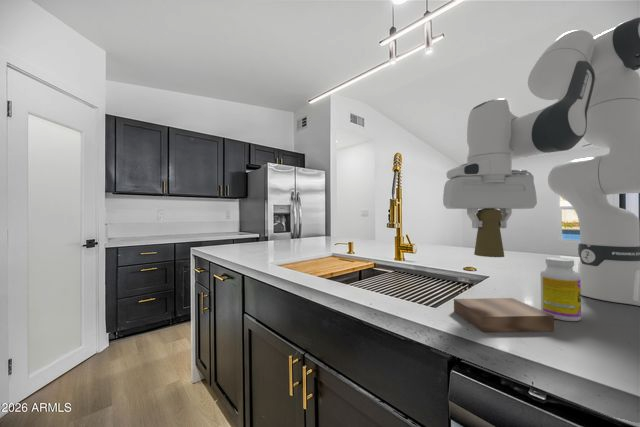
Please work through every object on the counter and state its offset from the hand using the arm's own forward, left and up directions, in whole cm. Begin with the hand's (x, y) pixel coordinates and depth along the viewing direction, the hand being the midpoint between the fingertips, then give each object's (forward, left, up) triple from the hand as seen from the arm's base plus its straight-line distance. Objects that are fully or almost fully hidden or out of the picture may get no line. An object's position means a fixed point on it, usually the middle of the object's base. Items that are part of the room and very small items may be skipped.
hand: (489, 228), depth 62 cm
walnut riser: (+1, +5, -20) cm, 20 cm away
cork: (0, 0, -7) cm, 7 cm away
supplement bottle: (-14, +3, -20) cm, 24 cm away
